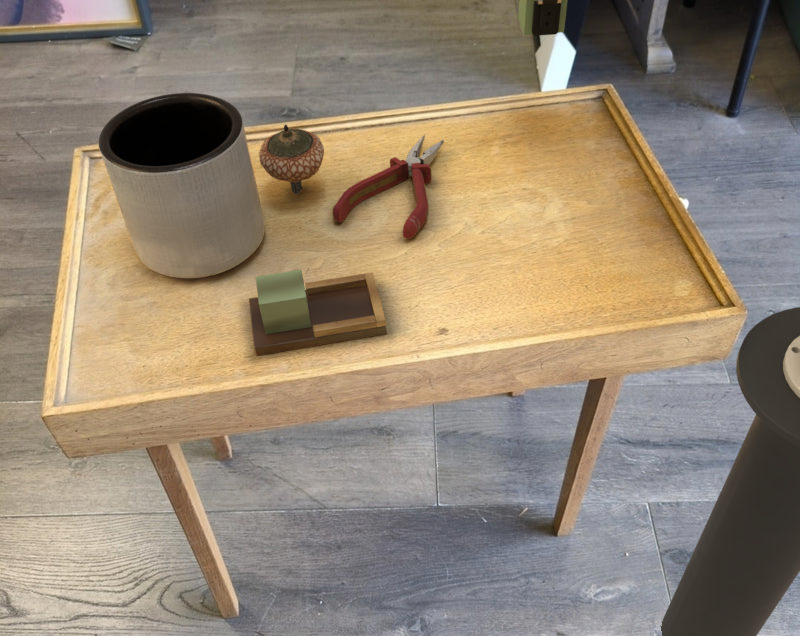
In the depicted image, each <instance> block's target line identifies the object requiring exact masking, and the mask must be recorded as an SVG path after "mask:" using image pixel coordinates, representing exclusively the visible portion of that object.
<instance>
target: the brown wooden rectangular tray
mask: <svg viewBox="0 0 800 636" xmlns="http://www.w3.org/2000/svg"><path fill="white" fill-rule="evenodd" d="M255 282H256V283H255V284H256V291H257V297H251V298H249V299H248V302H249V303H248V304H249V310H250V311H249V312H250V320H251V321H250V322H251V329H252V338H253V339H252V340H253V348H254V352H255V356H262V355H268V354H274V353H280V352H286V351H292V350H298V349H304V348H310V347H316V346H321V345H322V346H323V345H328V344H333V343H334V344H335V343H340V342H346V341H347V342H348V341H352V340H359V339H364V338H365V339H366V338H369V337H370V338H371V337H376V336H377V337H378V336H383V335H387V334H388V330H387V321H386V317H385V312H384V308H383V305H382V301H381V297H380V293H379V290H378V285H377V281H376V277H375V274H374V272H373V271H372V272H366V273H359V274H353V275H346V276H341V277H334V278H329V279H322V280H315V281H310V282H309V281H308V282H305V281H304V275H303V270H302V269H294V270H289V271H283V272H276V273H275V272H274V273H269V274H263V275H257V276H255Z"/></svg>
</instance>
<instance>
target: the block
mask: <svg viewBox="0 0 800 636" xmlns="http://www.w3.org/2000/svg"><path fill="white" fill-rule="evenodd" d="M534 1H537V0H519V2H518V14H517V16H518V17H517V18H518V21H519V22H518V23H519V25H520V28H521V31H522V33H523V36H530V35H532V36H533V34H532V21H533V8H534ZM567 9H568V0H562V2H561V11H560V21H559V30H558V33H565V27H566V17H567ZM558 33H557V34H558Z"/></svg>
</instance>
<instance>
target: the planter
mask: <svg viewBox="0 0 800 636" xmlns="http://www.w3.org/2000/svg"><path fill="white" fill-rule="evenodd" d="M245 129H246V128H245V124H244V120H243V117H242V114H241V112H240V111H239V109H238V108H236V106H235V105H233V104H232V103H231V102H229V101H227V100H225V99H223V98H220V97H218V96H215V95H211V94H206V93H197V92H178V93H177V92H175V93H167V94H162V95H157V96H154V97H149V98H146V99H144V100H141V101H139V102H135V103H134V104H132V105H129V106H127V107H126V108H124V109H122V110H121V111H120V112H118V113H117V114H115V115H114V116H113V117H112V118H110V119H109V121H108V122H106V124H105V125H104V127H102V130H101V132H100V133H99V137H98V149H99V153H100V155H101V158H102V161H103V164H104V166H105V169H106V171H107V175H108V177H109V180H110V184H111V186H112V188H113V191H114V194H115V197H116V200H117V201H116V202H117V203H118V206H119V209H120V213H121V215H122V218H123V221H124V224H125V226H126V230H127V232H128V236H129V239H130V241H131V244H132V248H133V249H134V252H135V254H136V255H137V257H138V259H139V261H141V263H142V264H143V265H145V266H146V268H148V269H150V270H151V271H153V272H155V273H157V274H160V275H163V276H166V277H171V278H177V279H201V278H206V277H212V276H215V275H219V274H221V273H224V272H227V271H229V270H231V269H234V268H235V267H237V266H239V265H240V264H242V263H243V262H244V261H247V259H248V258H249V257H250V256H252V255H253V254H254V252H256V251H257V249H258V248H259V246H260V245H261V243H262V242H263V239H264V236H265V232H266V231H265V230H266V223H265V215H264V211H263V205H262V202H261V198H260V193H259V188H258V184H257V179H256V176H255V170H254V166H253V162H252V157H251V153H250V148H249V144H248V143H249V142H248V139H247V135H246V130H245Z"/></svg>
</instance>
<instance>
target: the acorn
mask: <svg viewBox="0 0 800 636" xmlns="http://www.w3.org/2000/svg"><path fill="white" fill-rule="evenodd" d="M283 129H284V130H281V131H279V132H276V133H274V134H271V135H270V136H269V137H267V138H266V139H265V140H264V141H263V142H262V144H261V145H260V150H259V152H258V159H259V163H260V165H261V167H262V168H263V169H264V170H265V172H266V173H267V174H268V175H269V176H270V177H272V178H274V179H276V180H278V181H283V182H288V183H290V188H291V191H292V193H293V194H294V196H298V195H299V194H300V192H302V190H303V185H302V182H303V181H305V180H308V179H310V178H311V177H313V176H315V175H316V174H317V172H319V170H320V168H321V167H322V163H323V160H324V155H325V148H324V145H323V143H322V141H321V139H320V137H319V136H318V135H317V134H315V133H313V132H312V131H308V130H305V129H301V128H289V127H288V125H287V124H284V125H283Z"/></svg>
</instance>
